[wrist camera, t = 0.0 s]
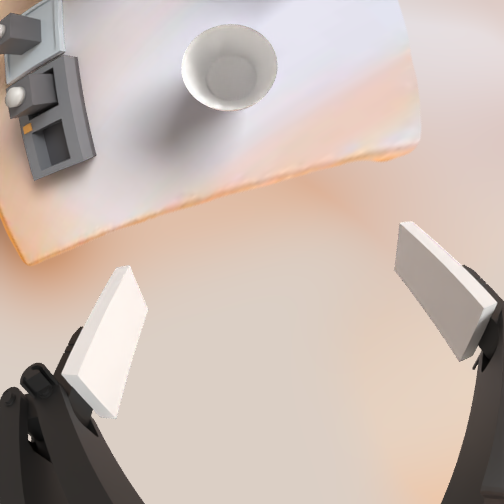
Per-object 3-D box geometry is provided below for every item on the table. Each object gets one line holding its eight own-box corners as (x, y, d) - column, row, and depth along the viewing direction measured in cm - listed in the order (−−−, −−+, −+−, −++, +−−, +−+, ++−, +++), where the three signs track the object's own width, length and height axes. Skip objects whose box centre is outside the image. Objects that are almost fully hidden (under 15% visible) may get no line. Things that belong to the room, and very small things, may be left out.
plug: (20, 33, 22) (-17, 29, 14) (40, 19, 22) (4, 11, 14) (21, 55, 24) (-17, 53, 16) (41, 42, 24) (3, 36, 16)
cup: (227, 123, 35) (223, 131, 25) (182, 76, 32) (159, 66, 21) (280, 82, 33) (299, 72, 22) (235, 34, 29) (235, 6, 19)
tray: (9, 28, 21) (4, 27, 20) (62, -7, 21) (57, -9, 20) (12, 84, 27) (6, 84, 26) (65, 51, 27) (60, 50, 26)
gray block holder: (29, 84, 28) (-14, 87, 19) (77, 57, 28) (36, 51, 19) (47, 173, 36) (8, 195, 27) (96, 155, 36) (59, 173, 26)
